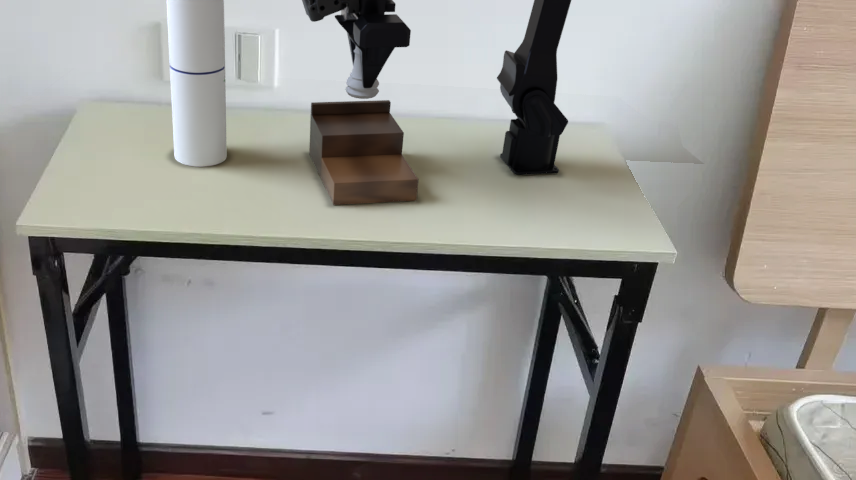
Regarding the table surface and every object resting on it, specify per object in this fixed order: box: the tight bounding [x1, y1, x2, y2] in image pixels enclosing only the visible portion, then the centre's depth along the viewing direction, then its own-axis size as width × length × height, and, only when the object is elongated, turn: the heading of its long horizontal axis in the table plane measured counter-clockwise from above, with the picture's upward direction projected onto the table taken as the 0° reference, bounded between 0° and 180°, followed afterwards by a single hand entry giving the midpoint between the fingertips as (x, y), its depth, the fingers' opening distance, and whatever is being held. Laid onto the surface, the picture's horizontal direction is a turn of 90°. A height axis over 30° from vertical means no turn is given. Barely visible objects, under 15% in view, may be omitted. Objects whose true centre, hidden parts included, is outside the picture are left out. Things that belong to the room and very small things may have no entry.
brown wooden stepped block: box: [308, 99, 419, 206], centre depth 127 cm, size 11×16×8 cm
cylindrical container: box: [165, 0, 228, 168], centre depth 125 cm, size 7×7×25 cm
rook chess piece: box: [344, 46, 380, 100], centre depth 124 cm, size 4×4×8 cm
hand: (362, 81), depth 126 cm, fingers closed on rook chess piece, 4 cm apart
